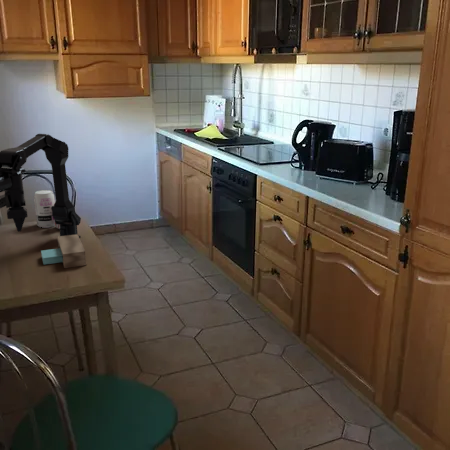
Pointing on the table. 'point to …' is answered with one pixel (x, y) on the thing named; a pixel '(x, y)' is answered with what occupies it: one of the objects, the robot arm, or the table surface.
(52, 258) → the teal rectangular block
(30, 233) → the table surface
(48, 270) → the table surface
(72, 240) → the block
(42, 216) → the supplement can
